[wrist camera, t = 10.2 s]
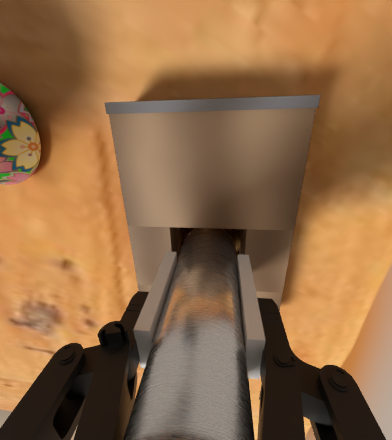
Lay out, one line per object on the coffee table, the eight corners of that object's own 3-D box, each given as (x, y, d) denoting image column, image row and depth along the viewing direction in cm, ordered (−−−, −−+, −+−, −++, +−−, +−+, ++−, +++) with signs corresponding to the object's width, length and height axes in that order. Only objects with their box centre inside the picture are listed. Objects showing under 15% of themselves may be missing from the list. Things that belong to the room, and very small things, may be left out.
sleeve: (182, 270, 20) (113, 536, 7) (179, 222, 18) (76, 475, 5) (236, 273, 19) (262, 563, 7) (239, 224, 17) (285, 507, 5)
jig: (157, 303, 25) (145, 337, 21) (131, 106, 17) (104, 102, 13) (265, 310, 24) (273, 348, 20) (295, 100, 16) (320, 95, 12)
